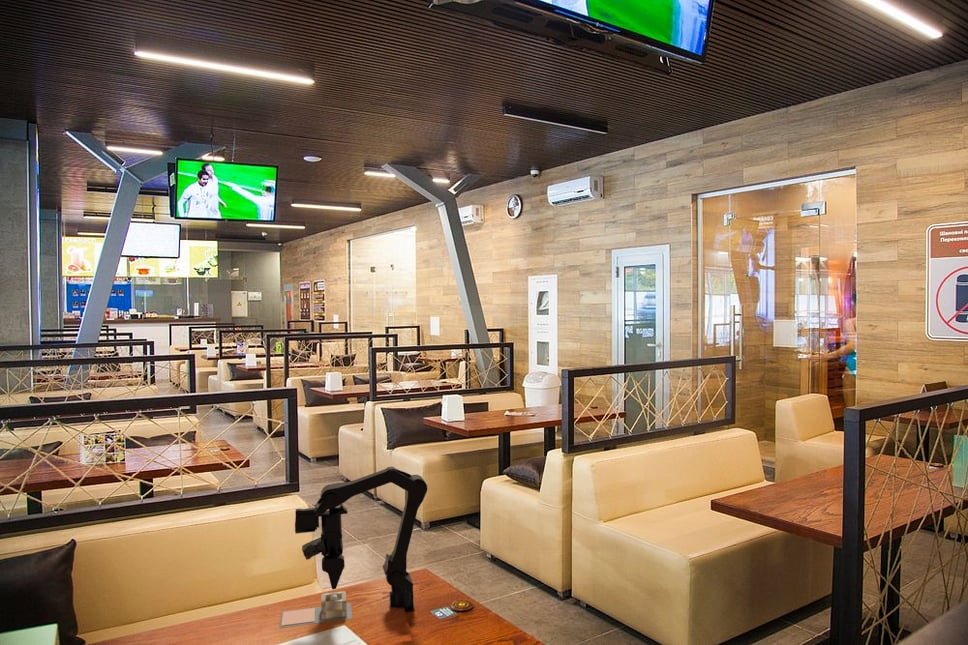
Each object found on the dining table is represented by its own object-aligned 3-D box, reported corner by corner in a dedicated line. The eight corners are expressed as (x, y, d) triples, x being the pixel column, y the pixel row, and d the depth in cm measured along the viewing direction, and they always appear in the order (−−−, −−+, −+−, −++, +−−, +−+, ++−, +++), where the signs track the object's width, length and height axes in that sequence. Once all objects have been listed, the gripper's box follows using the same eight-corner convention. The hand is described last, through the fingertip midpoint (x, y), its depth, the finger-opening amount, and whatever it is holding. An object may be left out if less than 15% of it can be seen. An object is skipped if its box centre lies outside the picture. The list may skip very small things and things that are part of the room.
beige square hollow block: (345, 606, 198) (345, 590, 198) (346, 616, 191) (346, 600, 191) (321, 609, 197) (321, 593, 197) (321, 619, 190) (321, 603, 190)
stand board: (350, 605, 201) (350, 586, 200) (352, 621, 190) (351, 601, 190) (281, 614, 196) (281, 595, 196) (279, 631, 185) (278, 610, 185)
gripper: (303, 523, 201) (305, 574, 201) (302, 542, 183) (304, 599, 183) (341, 519, 204) (343, 570, 204) (343, 538, 186) (345, 594, 186)
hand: (333, 582), depth 194 cm, fingers open, 9 cm apart
